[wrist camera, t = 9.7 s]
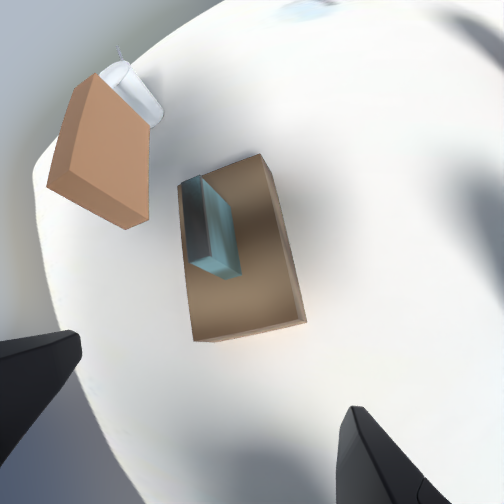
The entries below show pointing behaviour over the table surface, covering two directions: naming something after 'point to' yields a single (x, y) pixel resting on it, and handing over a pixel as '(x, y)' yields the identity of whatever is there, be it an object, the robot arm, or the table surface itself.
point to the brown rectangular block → (103, 155)
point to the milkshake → (132, 90)
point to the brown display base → (237, 254)
